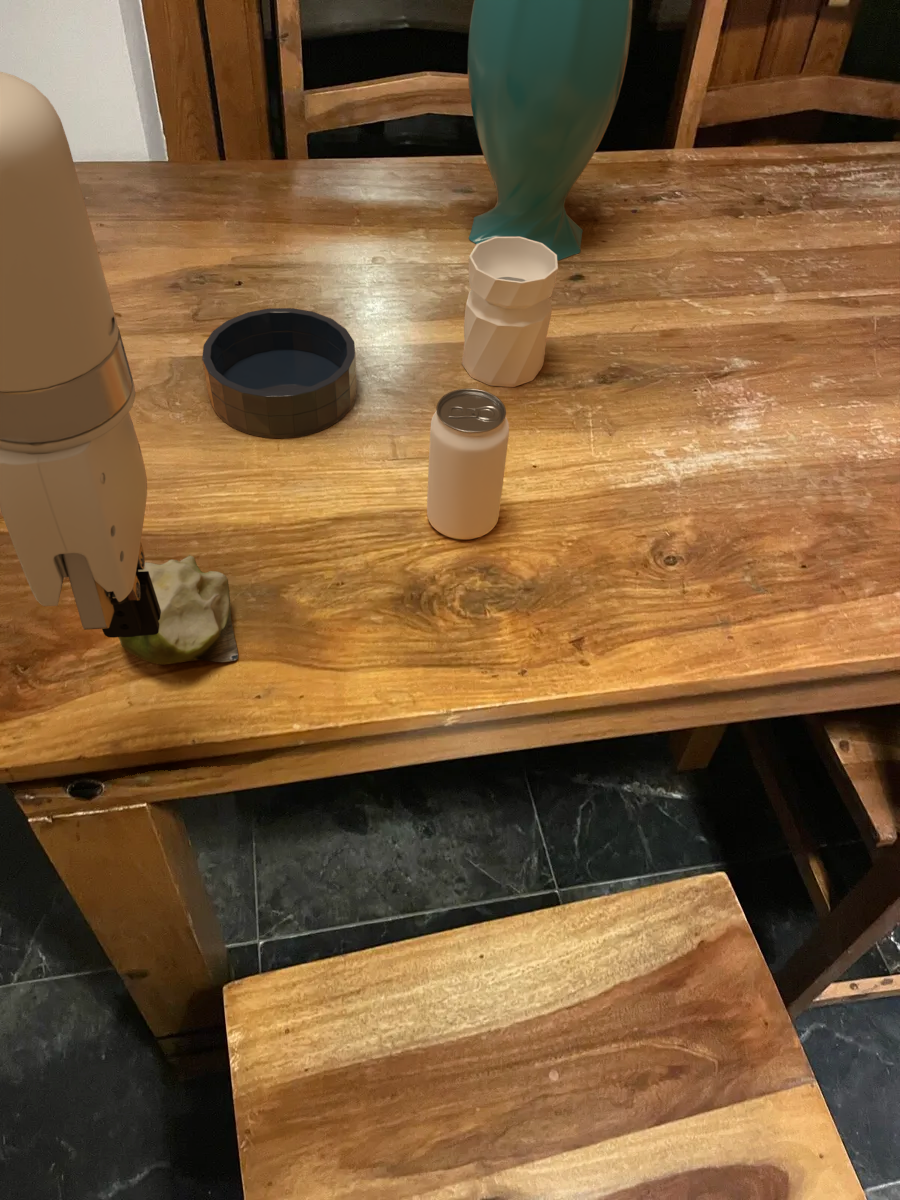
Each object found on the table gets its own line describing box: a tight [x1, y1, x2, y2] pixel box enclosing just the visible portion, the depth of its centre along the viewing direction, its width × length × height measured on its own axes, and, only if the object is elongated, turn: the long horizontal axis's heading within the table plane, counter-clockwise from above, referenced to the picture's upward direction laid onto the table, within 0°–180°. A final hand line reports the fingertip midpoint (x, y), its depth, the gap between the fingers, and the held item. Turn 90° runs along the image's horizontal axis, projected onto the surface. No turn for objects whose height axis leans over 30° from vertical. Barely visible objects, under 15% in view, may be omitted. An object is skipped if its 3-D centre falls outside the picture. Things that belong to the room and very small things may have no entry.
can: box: [426, 388, 510, 541], centre depth 79 cm, size 6×6×12 cm
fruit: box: [118, 554, 239, 666], centre depth 71 cm, size 9×9×8 cm
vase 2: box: [461, 237, 559, 388], centre depth 95 cm, size 9×9×12 cm
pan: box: [201, 307, 357, 439], centre depth 93 cm, size 15×15×5 cm
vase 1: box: [467, 0, 633, 262], centre depth 106 cm, size 17×17×30 cm
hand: (134, 625), depth 57 cm, fingers closed
